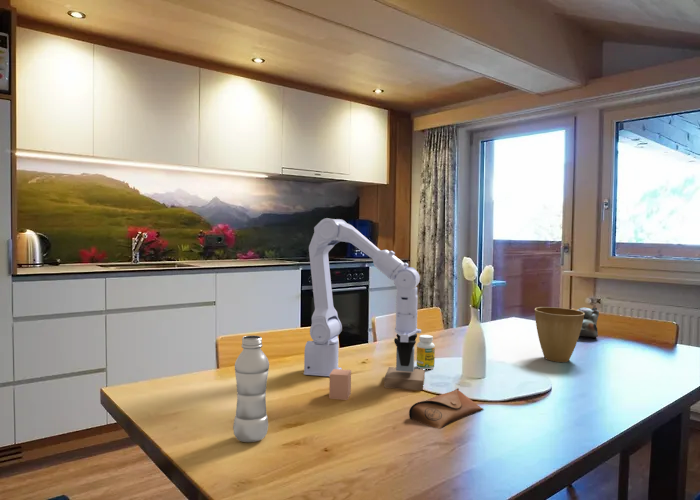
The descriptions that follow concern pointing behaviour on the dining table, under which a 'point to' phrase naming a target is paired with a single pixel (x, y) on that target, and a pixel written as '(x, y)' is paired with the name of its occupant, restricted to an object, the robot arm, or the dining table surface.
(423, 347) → the supplement bottle
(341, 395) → the terracotta block
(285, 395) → the dining table surface
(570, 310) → the plant pot
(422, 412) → the sunglasses case
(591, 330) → the lucky cat figurine
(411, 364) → the slate block
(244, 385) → the plastic bottle
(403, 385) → the walnut base
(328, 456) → the dining table surface
